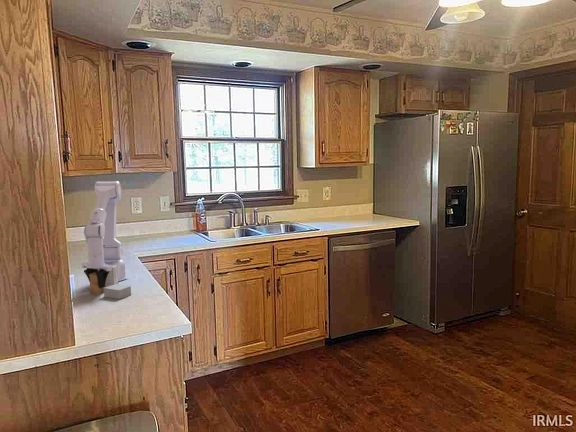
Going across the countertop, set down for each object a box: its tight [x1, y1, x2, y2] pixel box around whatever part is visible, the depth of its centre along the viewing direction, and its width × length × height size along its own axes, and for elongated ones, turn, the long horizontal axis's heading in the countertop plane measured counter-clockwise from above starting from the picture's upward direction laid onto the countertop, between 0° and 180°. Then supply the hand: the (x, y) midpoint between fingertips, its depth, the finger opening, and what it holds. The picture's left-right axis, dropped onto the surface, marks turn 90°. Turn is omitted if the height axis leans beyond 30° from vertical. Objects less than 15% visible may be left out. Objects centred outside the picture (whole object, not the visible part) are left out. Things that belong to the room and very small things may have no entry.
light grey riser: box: [103, 283, 132, 300], centre depth 171 cm, size 6×8×4 cm
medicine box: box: [98, 265, 119, 287], centre depth 184 cm, size 8×4×9 cm, turn 91°
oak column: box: [89, 272, 105, 295], centre depth 175 cm, size 4×4×8 cm
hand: (97, 286), depth 175 cm, fingers closed on oak column, 4 cm apart
